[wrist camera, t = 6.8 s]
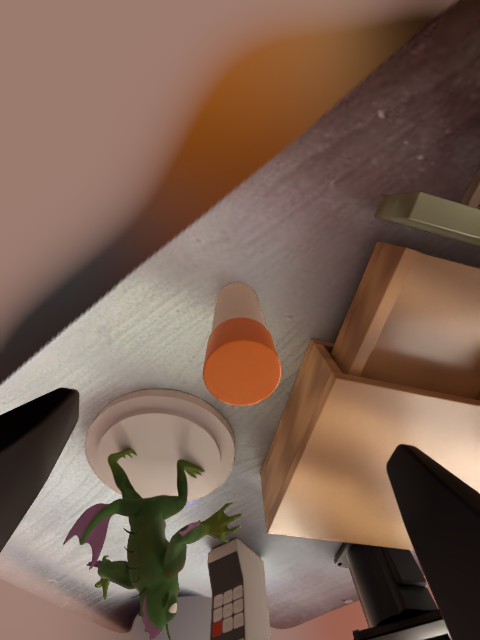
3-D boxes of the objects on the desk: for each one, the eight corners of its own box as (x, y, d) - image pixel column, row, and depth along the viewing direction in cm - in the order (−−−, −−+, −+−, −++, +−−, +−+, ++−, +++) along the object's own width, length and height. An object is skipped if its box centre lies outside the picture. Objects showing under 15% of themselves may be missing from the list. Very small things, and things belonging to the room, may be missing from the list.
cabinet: (311, 338, 19) (335, 377, 15) (484, 374, 21) (554, 420, 16) (259, 473, 24) (266, 533, 20) (403, 493, 26) (439, 553, 21)
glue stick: (252, 327, 19) (269, 412, 11) (210, 318, 18) (196, 399, 11) (264, 286, 18) (292, 348, 10) (220, 276, 17) (211, 331, 9)
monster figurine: (151, 512, 26) (105, 688, 16) (58, 431, 22) (-77, 604, 12) (260, 462, 24) (280, 630, 14) (179, 362, 20) (132, 506, 10)
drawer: (422, 94, 13) (478, 60, 10) (633, 166, 15) (735, 155, 12) (307, 382, 20) (321, 413, 17) (463, 412, 21) (502, 445, 18)
